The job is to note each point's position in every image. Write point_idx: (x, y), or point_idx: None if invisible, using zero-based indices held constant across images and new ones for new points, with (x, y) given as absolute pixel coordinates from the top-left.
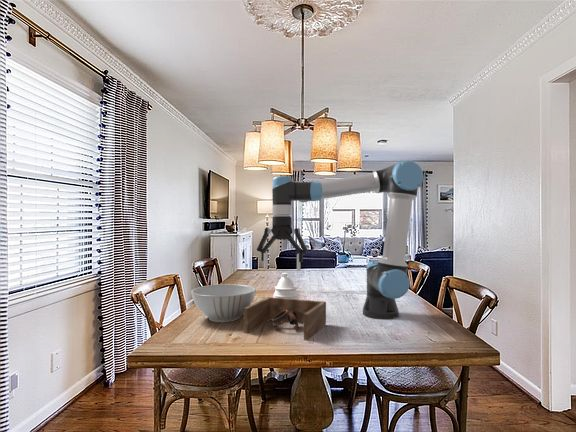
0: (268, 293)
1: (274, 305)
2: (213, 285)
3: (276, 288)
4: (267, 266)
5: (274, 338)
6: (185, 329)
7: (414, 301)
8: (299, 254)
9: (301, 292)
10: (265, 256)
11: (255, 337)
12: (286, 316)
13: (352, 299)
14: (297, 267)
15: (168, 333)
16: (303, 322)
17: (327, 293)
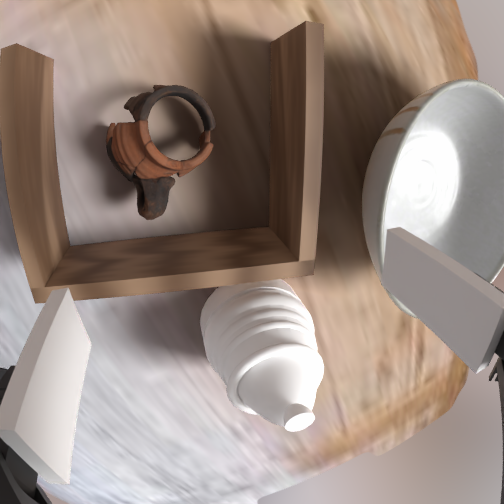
0: (362, 430)
1: (267, 250)
2: (501, 264)
3: (308, 347)
4: (393, 289)
5: (152, 24)
6: (438, 48)
7: (46, 484)
8: (6, 440)
9: (293, 469)
10: (474, 289)
11: (220, 10)
12: (137, 110)
13: (154, 477)
14: (52, 308)
15: (447, 14)
16: (133, 239)
17: (233, 486)
